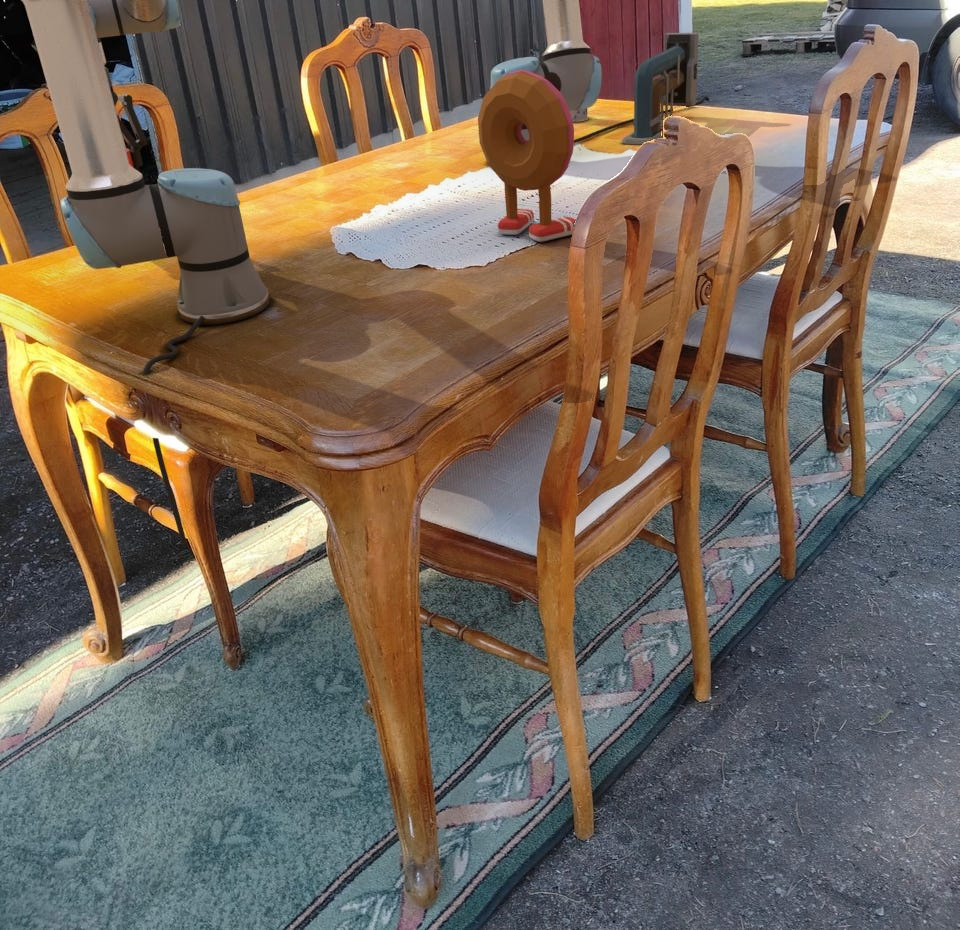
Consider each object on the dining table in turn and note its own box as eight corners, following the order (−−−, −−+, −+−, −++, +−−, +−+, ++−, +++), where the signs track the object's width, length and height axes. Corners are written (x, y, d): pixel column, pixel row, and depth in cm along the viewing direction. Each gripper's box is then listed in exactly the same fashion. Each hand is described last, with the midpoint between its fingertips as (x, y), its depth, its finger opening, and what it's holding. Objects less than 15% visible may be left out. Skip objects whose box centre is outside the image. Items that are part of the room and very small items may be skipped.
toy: (594, 233, 186) (591, 67, 171) (560, 248, 180) (555, 77, 165) (511, 217, 199) (502, 62, 184) (477, 231, 193) (465, 71, 178)
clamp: (652, 144, 244) (653, 54, 234) (619, 143, 248) (619, 54, 237) (695, 115, 270) (698, 32, 259) (665, 114, 274) (667, 33, 263)
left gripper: (134, 58, 192) (161, 173, 204) (26, 75, 183) (61, 195, 194) (146, 61, 187) (174, 180, 198) (35, 79, 177) (71, 202, 189)
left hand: (118, 187), depth 196 cm, fingers closed on can, 8 cm apart
